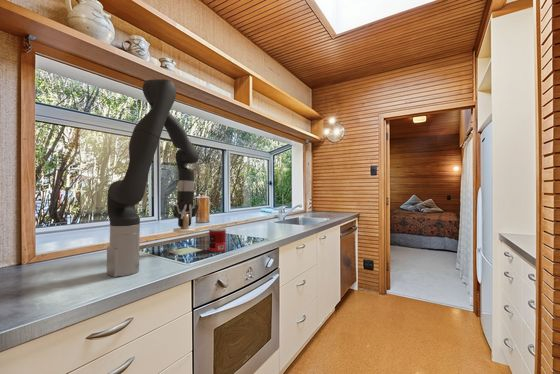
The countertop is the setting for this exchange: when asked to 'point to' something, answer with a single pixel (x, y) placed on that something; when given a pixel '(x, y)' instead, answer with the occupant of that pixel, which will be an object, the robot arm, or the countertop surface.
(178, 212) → the robot arm
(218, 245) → the canned food
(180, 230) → the lid
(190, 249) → the mat
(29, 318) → the countertop surface
